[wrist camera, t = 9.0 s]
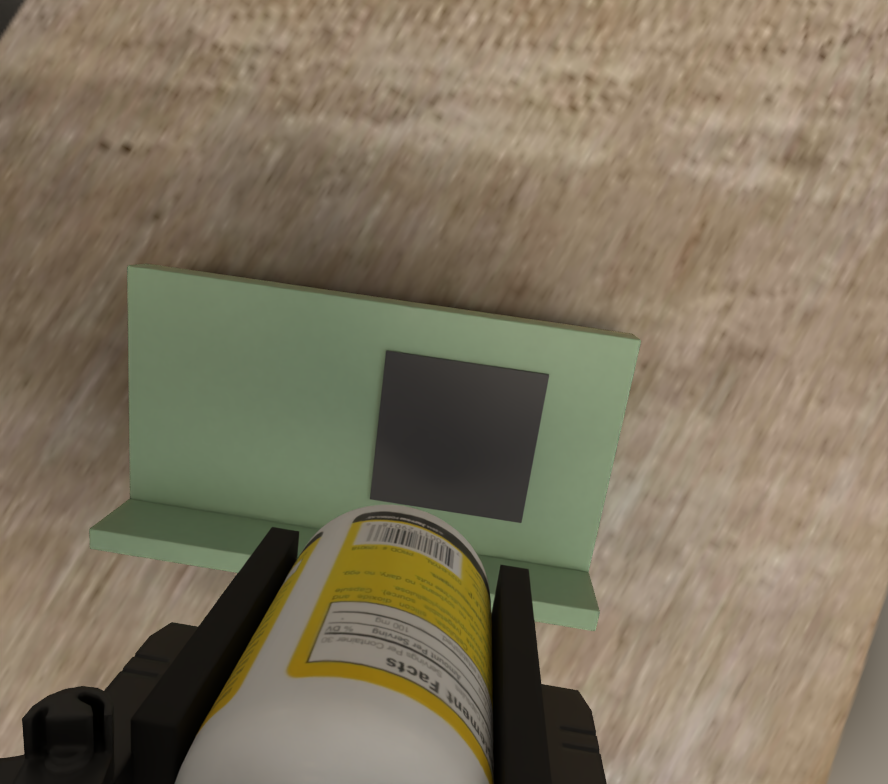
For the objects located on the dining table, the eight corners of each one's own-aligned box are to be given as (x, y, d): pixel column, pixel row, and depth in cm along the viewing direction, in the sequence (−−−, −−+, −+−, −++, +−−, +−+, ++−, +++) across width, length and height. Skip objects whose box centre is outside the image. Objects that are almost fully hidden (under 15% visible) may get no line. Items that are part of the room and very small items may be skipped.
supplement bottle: (350, 693, 17) (183, 1235, 8) (264, 537, 16) (-47, 957, 7) (523, 638, 17) (563, 1180, 7) (445, 469, 15) (369, 848, 6)
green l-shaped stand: (184, 259, 30) (79, 269, 23) (617, 321, 29) (662, 354, 22) (181, 475, 34) (89, 549, 26) (571, 537, 33) (595, 632, 25)
